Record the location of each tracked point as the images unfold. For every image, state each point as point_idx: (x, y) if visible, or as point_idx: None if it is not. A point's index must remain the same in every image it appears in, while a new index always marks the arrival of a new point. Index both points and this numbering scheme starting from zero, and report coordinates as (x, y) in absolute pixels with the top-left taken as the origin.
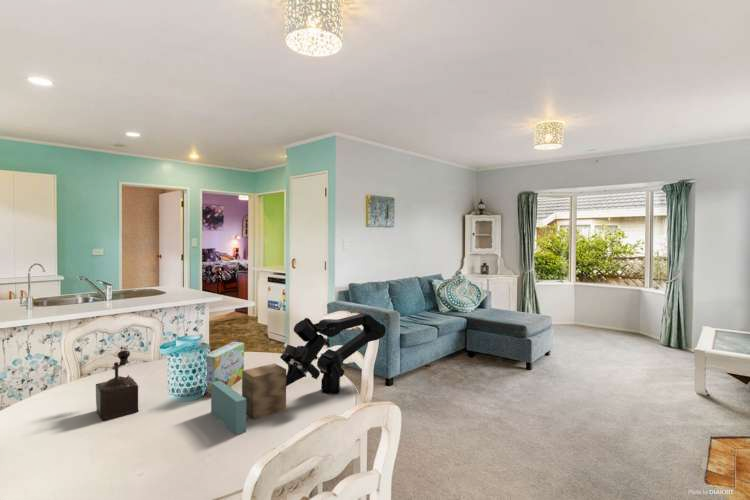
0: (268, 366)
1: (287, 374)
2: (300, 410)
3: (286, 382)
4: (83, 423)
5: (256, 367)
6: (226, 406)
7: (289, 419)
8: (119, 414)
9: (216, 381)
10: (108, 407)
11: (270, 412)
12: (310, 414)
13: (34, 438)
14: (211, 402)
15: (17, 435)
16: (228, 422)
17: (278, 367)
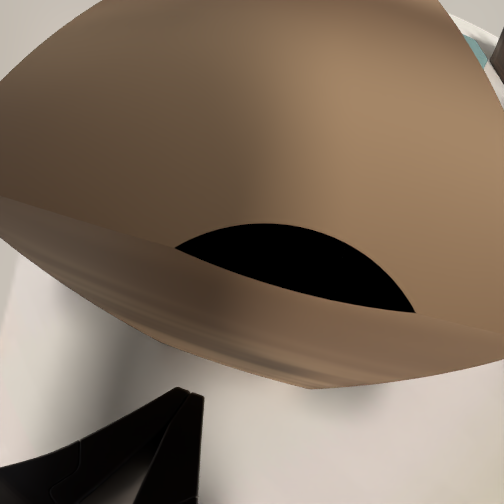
0: (393, 53)
1: (172, 500)
2: (85, 374)
3: (150, 406)
4: (491, 54)
5: (447, 14)
6: None
7: None
8: (500, 70)
9: (480, 49)
10: (500, 46)
11: (194, 239)
12: (27, 354)
13: (465, 26)
14: None
15: (482, 31)
16: None
17: (79, 110)
